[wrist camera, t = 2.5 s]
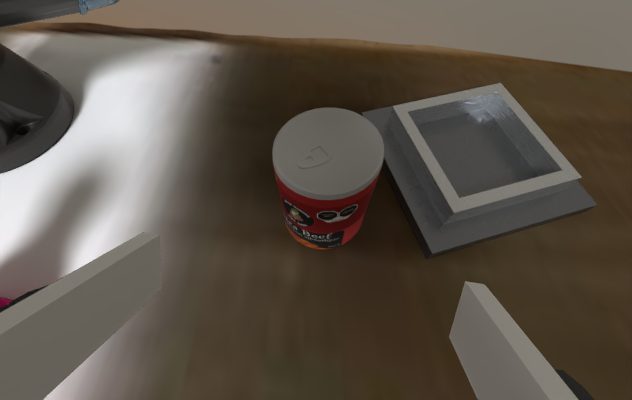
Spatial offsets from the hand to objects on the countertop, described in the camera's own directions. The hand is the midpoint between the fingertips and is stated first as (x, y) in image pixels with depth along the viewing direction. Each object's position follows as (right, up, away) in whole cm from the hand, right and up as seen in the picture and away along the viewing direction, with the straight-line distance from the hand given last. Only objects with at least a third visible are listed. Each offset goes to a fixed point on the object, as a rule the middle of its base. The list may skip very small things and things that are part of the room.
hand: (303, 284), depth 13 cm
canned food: (+1, +2, +18) cm, 18 cm away
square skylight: (+17, +8, +21) cm, 28 cm away
